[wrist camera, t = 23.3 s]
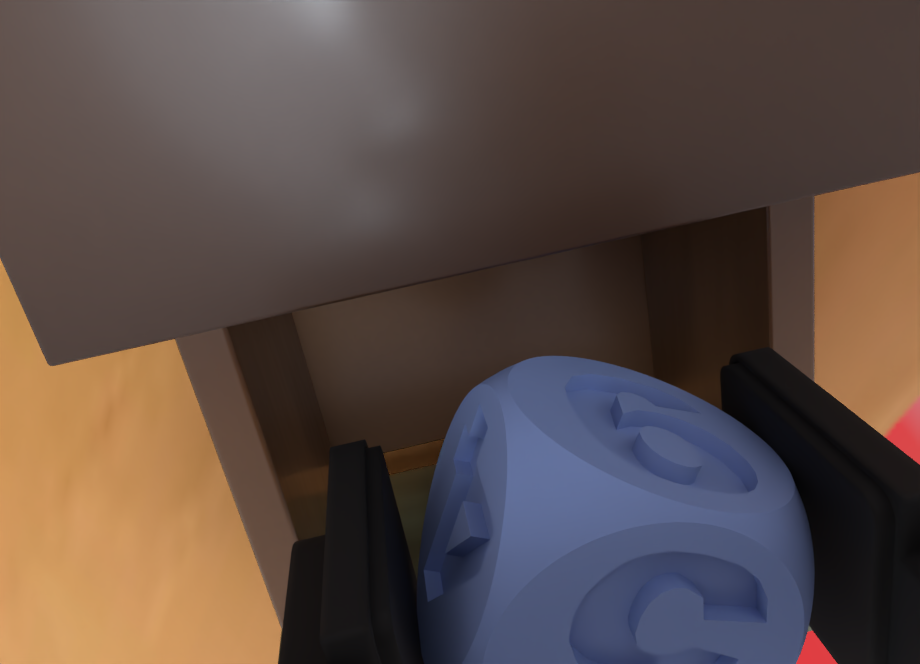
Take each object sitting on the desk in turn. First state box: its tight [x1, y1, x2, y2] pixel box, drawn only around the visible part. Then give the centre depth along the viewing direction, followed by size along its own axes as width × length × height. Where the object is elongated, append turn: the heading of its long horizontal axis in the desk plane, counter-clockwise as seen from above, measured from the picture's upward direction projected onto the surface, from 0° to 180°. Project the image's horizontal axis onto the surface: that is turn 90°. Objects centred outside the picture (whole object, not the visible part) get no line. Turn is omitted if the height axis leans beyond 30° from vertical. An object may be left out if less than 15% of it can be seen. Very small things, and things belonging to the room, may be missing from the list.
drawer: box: [175, 196, 814, 662], centre depth 16 cm, size 18×11×7 cm, turn 11°
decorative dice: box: [417, 356, 815, 664], centre depth 10 cm, size 4×4×4 cm
